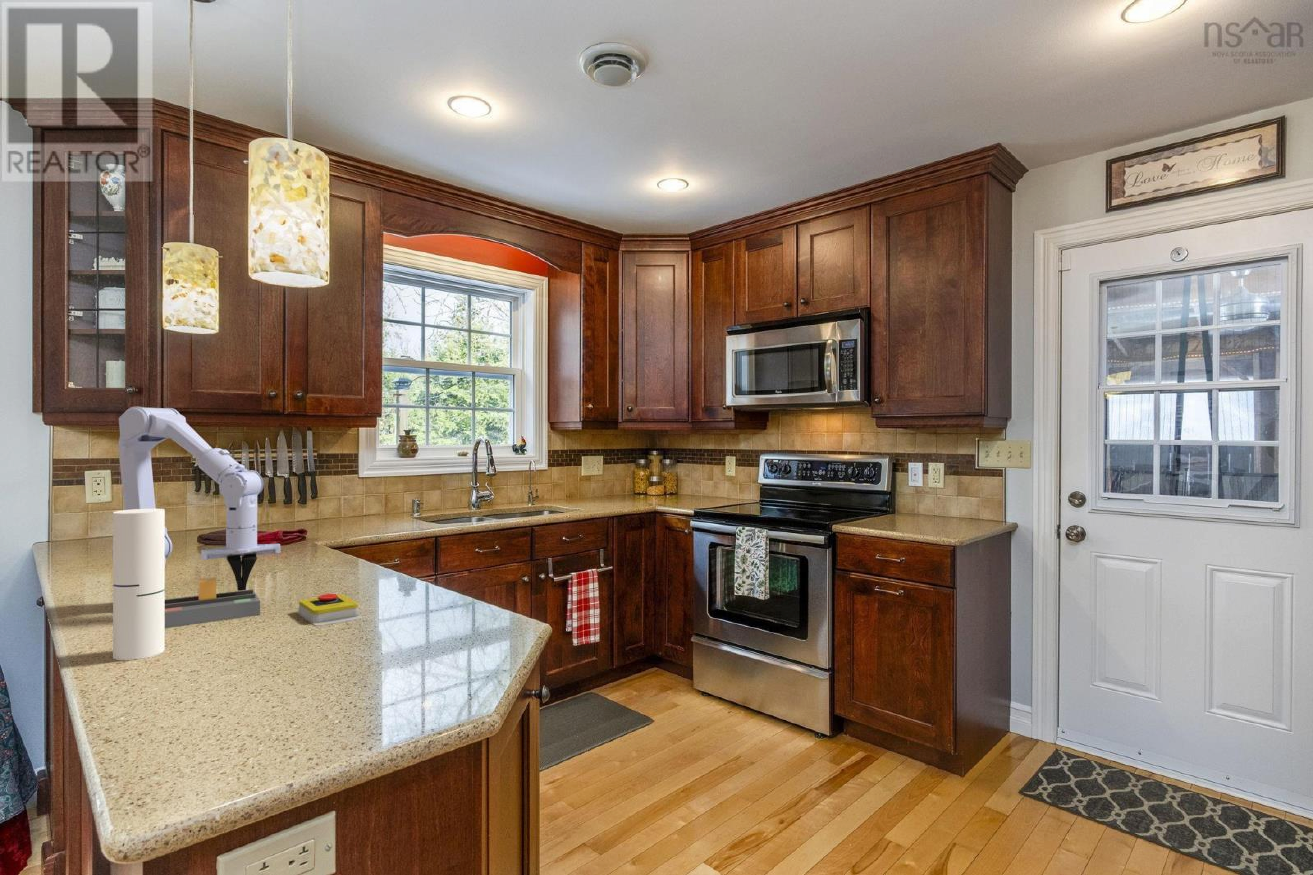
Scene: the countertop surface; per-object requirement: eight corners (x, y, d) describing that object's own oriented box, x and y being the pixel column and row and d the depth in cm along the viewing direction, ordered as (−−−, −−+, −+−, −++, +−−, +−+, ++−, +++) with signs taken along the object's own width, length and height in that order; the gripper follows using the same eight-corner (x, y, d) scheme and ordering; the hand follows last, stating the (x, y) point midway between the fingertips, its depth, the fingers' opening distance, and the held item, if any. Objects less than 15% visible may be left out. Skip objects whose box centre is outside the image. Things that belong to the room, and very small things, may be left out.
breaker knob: (198, 599, 141) (198, 578, 141) (215, 597, 143) (215, 577, 143) (199, 602, 139) (199, 581, 139) (216, 600, 141) (216, 579, 141)
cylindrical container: (121, 649, 119) (121, 509, 119) (169, 645, 122) (169, 508, 121) (106, 662, 112) (106, 514, 112) (158, 657, 115) (158, 512, 115)
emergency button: (340, 587, 151) (364, 600, 140) (340, 606, 151) (364, 620, 140) (295, 593, 145) (316, 607, 134) (295, 613, 145) (316, 629, 134)
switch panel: (154, 615, 141) (154, 597, 141) (253, 602, 151) (253, 586, 151) (153, 629, 131) (153, 610, 131) (260, 614, 142) (260, 597, 142)
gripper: (202, 532, 137) (202, 598, 137) (282, 526, 146) (282, 588, 146) (200, 527, 143) (200, 591, 143) (277, 522, 152) (277, 582, 152)
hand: (241, 589), depth 145 cm, fingers closed
